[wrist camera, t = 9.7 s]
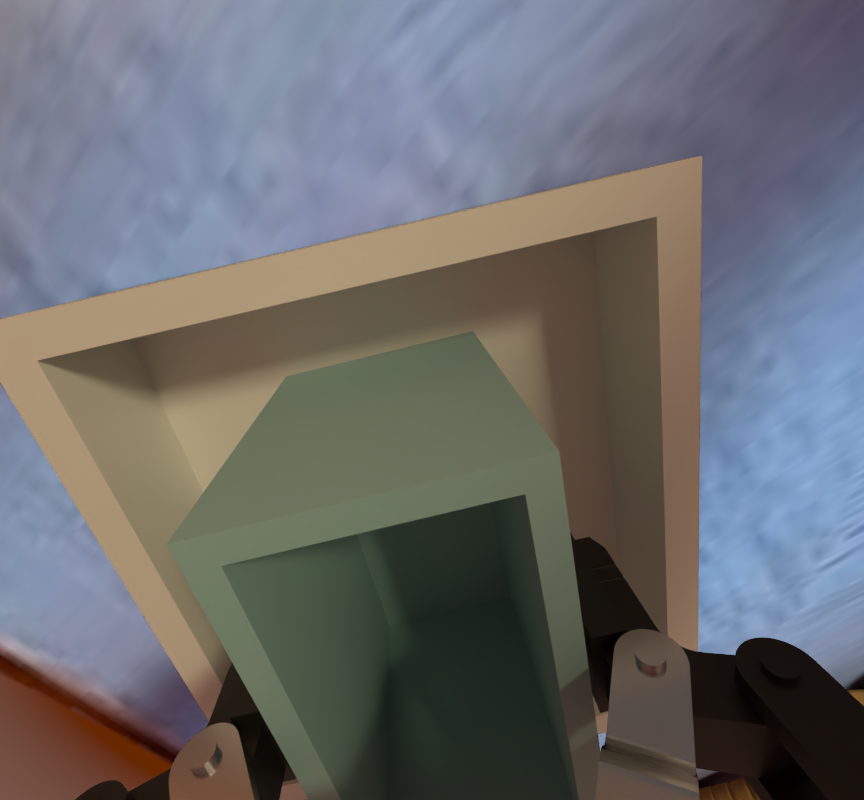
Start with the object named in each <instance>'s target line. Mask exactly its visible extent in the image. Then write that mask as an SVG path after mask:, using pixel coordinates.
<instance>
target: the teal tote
mask: <svg viewBox="0 0 864 800" xmlns="http://www.w3.org/2000/svg"><path fill="white" fill-rule="evenodd" d="M166 545H167V547H168V549H169V550H170V552H171V554H172V556H173V557H174V559H175V561H176V563H177V565H178V566H179V568H180V570H181V572H182V574H183V575H184V577H185V579H186V581H187V583H188V584H189V586H190V588H191V590H192V592H193V593H194V595H195V597H196V599H197V600H198V602H199V604H200V606H201V608H202V609H203V611H204V613H205V615H206V617H207V618H208V620H209V622H210V624H211V626H212V627H213V629H214V631H215V633H216V634H217V636H218V638H219V640H220V642H221V643H222V645H223V647H224V649H225V651H226V652H227V654H228V656H229V658H230V660H231V661H232V663H233V665H234V667H235V668H236V670H237V672H238V674H239V676H240V677H241V679H242V681H243V683H244V685H245V686H246V688H247V690H248V692H249V694H250V695H251V697H252V699H253V701H254V702H255V704H256V706H257V708H258V710H259V711H260V713H261V715H262V717H263V719H264V720H265V722H266V724H267V726H268V728H269V729H270V731H271V733H272V735H273V736H274V738H275V740H276V742H277V744H278V745H279V747H280V749H281V751H282V753H283V754H284V756H285V758H286V760H287V762H288V763H289V765H290V767H291V769H292V771H293V772H294V774H295V776H296V778H297V779H298V781H299V783H300V785H301V787H302V788H303V790H304V792H305V794H306V796H307V797H308V799H309V800H595V797H596V787H597V777H598V767H599V758H600V747H599V740H598V732H597V725H596V718H595V710H594V703H593V696H592V688H591V681H590V674H589V667H588V659H587V652H586V645H585V637H584V630H583V623H582V615H581V608H580V601H579V593H578V586H577V579H576V571H575V564H574V557H573V550H572V542H571V535H570V528H569V520H568V513H567V506H566V498H565V491H564V484H563V476H562V469H561V462H560V454H559V450H558V449H557V448H556V446H555V445H554V443H553V442H552V441H551V439H550V438H549V436H548V435H547V434H546V432H545V431H544V429H543V428H542V427H541V425H540V424H539V423H538V421H537V420H536V418H535V417H534V416H533V414H532V413H531V411H530V410H529V409H528V407H527V406H526V404H525V403H524V402H523V400H522V399H521V397H520V396H519V395H518V393H517V392H516V390H515V389H514V388H513V386H512V385H511V383H510V382H509V381H508V379H507V378H506V377H505V375H504V374H503V372H502V371H501V370H500V368H499V367H498V365H497V364H496V363H495V361H494V360H493V358H492V357H491V356H490V354H489V353H488V351H487V350H486V349H485V347H484V346H483V344H482V343H481V342H480V340H479V339H478V337H477V336H476V335H475V333H474V332H473V331H471V332H467V333H463V334H459V335H455V336H451V337H447V338H442V339H438V340H434V341H430V342H426V343H422V344H418V345H413V346H409V347H405V348H401V349H397V350H393V351H389V352H385V353H380V354H376V355H372V356H368V357H364V358H360V359H356V360H351V361H347V362H343V363H339V364H335V365H331V366H327V367H322V368H318V369H314V370H310V371H306V372H302V373H298V374H294V375H289V376H286V377H285V379H284V380H283V381H282V383H281V384H280V386H279V387H278V388H277V390H276V391H275V393H274V394H273V395H272V397H271V398H270V400H269V401H268V403H267V404H266V405H265V407H264V408H263V410H262V411H261V412H260V414H259V415H258V417H257V418H256V419H255V421H254V422H253V424H252V425H251V426H250V428H249V429H248V431H247V432H246V433H245V435H244V436H243V438H242V439H241V440H240V442H239V443H238V445H237V446H236V447H235V449H234V450H233V452H232V453H231V454H230V456H229V457H228V459H227V460H226V461H225V463H224V464H223V466H222V467H221V468H220V470H219V471H218V473H217V474H216V475H215V477H214V478H213V480H212V481H211V482H210V484H209V485H208V487H207V488H206V489H205V491H204V492H203V494H202V495H201V496H200V498H199V499H198V501H197V502H196V503H195V505H194V506H193V508H192V509H191V511H190V512H189V513H188V515H187V516H186V518H185V519H184V520H183V522H182V523H181V525H180V526H179V527H178V529H177V530H176V532H175V533H174V534H173V536H172V537H171V539H170V540H169V541H168V543H167V544H166Z"/></svg>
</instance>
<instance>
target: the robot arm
mask: <svg viewBox="0 0 864 800" xmlns="http://www.w3.org/2000/svg"><path fill="white" fill-rule="evenodd" d="M570 535H571V542H572V550H573V557H574V564H575V571H576V579H577V586H578V593H579V601H580V608H581V615H582V623H583V630H584V637H585V645H586V652H587V659H588V667H589V674H590V681H591V688H592V695H593V697H594V700H595V702H596V704H597V707H598V709H599V712H600V713H602V712H606V711H608V720H607V730H606V740H605V745H604V746H602V748H601V752H600V758H599V767H598V777H597V787H596V797H595V800H699V786H698V776H697V773H696V768H699V769H706V770H712V771H718V772H725V773H731V774H737V775H743V776H744V777H745V779H746V780H747V782H748V783H749V784H750V786H751V787H752V789H753V790H754V791H755V793H756V794H757V796H758V797H759V798H760V800H864V706H863V705H862V704H861V703H860V702H859V701H858V700H857V699H855V698H854V697H853V696H852V695H851V694H850V693H849V692H848V691H847V690H846V689H845V688H844V687H843V686H842V685H840V684H839V683H838V682H837V681H836V680H835V679H834V678H833V677H832V676H831V675H830V674H829V673H828V672H827V671H825V670H824V669H823V668H822V667H821V666H820V665H819V664H818V663H817V662H816V661H815V660H814V659H813V658H811V657H810V656H809V655H808V654H806V653H805V652H803V651H802V650H800V649H799V648H797V647H795V646H793V645H791V644H789V643H786V642H783V641H780V640H777V639H771V638H754V639H750V640H747V641H745V642H743V643H742V644H741V645H740V646H739V647H738V649H737V651H736V655H726V654H714V653H703V652H697V651H693V650H689V649H686V648H684V647H681V646H680V645H679V644H678V643H676V642H675V641H674V640H673V639H671V638H670V637H668V636H667V635H665V634H663V633H661V632H660V631H659V630H658V628H657V627H656V626H655V624H654V623H653V621H652V620H651V618H650V617H649V615H648V614H647V612H646V610H645V609H644V607H643V606H642V604H641V603H640V601H639V600H638V598H637V596H636V595H635V593H634V592H633V590H632V589H631V587H630V586H629V584H628V582H627V581H626V579H624V578H623V575H622V573H621V572H620V570H619V569H618V567H617V566H616V565H615V562H614V561H613V559H612V558H611V556H610V555H609V553H608V551H607V550H606V548H605V547H603V546H602V545H600V544H599V543H598V542H596V541H595V540H593V539H592V538H590V537H586V538H581V539H577V540H575V539H574V537H573V535H572V533H571V532H570ZM294 779H297V778H296V776H295V774H294V772H293V771H292V769H291V767H290V765H289V763H288V762H287V760H286V758H285V756H284V754H283V753H282V751H281V749H280V747H279V745H278V744H277V742H276V740H275V738H274V736H273V735H272V733H271V731H270V729H269V728H268V726H267V724H266V722H265V720H264V719H263V717H262V715H261V713H260V711H259V710H258V708H257V706H256V704H255V702H254V701H253V699H252V697H251V695H250V694H249V692H248V690H247V688H246V686H245V685H244V683H243V681H242V679H241V677H240V676H239V674H238V672H237V670H236V668H235V667H234V665H233V663H232V661H231V666H230V667H229V670H228V672H227V675H226V678H225V680H224V683H223V686H222V688H221V691H220V694H219V696H218V699H217V702H216V704H215V707H214V710H213V712H212V715H211V718H210V720H209V723H208V726H207V727H206V728H205V729H203V730H201V731H200V732H199V733H197V734H196V735H195V736H194V737H192V738H191V739H190V740H189V741H188V742H187V743H186V744H185V746H184V747H183V748H182V749H181V751H180V752H179V754H178V755H177V757H176V759H175V761H174V763H173V765H172V768H171V769H169V770H167V771H166V772H164V773H162V774H160V775H159V776H157V777H155V778H153V779H151V780H149V781H147V782H146V783H144V784H142V785H140V786H138V787H137V788H135V789H133V790H131V791H129V792H128V791H127V789H126V788H125V787H124V786H123V784H122V783H120V782H118V781H115V780H112V781H106V782H102V783H100V784H97V785H95V786H93V787H92V788H90V789H89V790H87V791H85V792H84V793H83V794H81V795H80V796H79V797H78V798H77V799H75V800H279V799H280V794H281V789H282V784H283V782H285V781H290V780H294Z"/></svg>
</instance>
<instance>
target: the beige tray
mask: <svg viewBox="0 0 864 800" xmlns="http://www.w3.org/2000/svg"><path fill="white" fill-rule="evenodd" d="M701 224H702V156H698V157H693V158H688V159H684V160H679V161H675V162H670V163H666V164H661V165H657V166H652V167H647V168H643V169H638V170H634V171H629V172H625V173H620V174H616V175H611V176H607V177H602V178H598V179H594V180H589V181H585V182H581V183H577V184H572V185H568V186H564V187H559V188H555V189H551V190H547V191H542V192H538V193H534V194H529V195H525V196H521V197H517V198H512V199H508V200H504V201H499V202H495V203H491V204H487V205H482V206H478V207H474V208H470V209H465V210H461V211H457V212H452V213H448V214H444V215H440V216H435V217H431V218H427V219H422V220H418V221H414V222H410V223H405V224H401V225H397V226H392V227H388V228H384V229H380V230H375V231H371V232H367V233H362V234H358V235H354V236H350V237H345V238H341V239H337V240H332V241H328V242H324V243H320V244H315V245H311V246H307V247H303V248H298V249H294V250H290V251H285V252H281V253H277V254H273V255H268V256H264V257H260V258H255V259H251V260H247V261H243V262H238V263H234V264H230V265H225V266H221V267H217V268H213V269H208V270H204V271H200V272H195V273H191V274H187V275H183V276H178V277H174V278H170V279H166V280H161V281H157V282H153V283H148V284H144V285H140V286H136V287H131V288H127V289H123V290H118V291H114V292H110V293H106V294H101V295H97V296H93V297H89V298H85V299H81V300H76V301H72V302H68V303H64V304H60V305H56V306H52V307H48V308H44V309H40V310H35V311H31V312H27V313H23V314H19V315H15V316H11V317H7V318H3V319H0V383H1V384H2V386H3V387H4V389H5V391H6V392H7V394H8V396H9V397H10V399H11V400H12V402H13V404H14V405H15V407H16V409H17V410H18V412H19V414H20V415H21V417H22V418H23V420H24V422H25V423H26V425H27V427H28V428H29V430H30V431H31V433H32V435H33V436H34V438H35V440H36V441H37V443H38V444H39V446H40V448H41V449H42V451H43V453H44V454H45V456H46V457H47V459H48V461H49V462H50V464H51V466H52V467H53V469H54V471H55V472H56V474H57V475H58V477H59V479H60V480H61V482H62V484H63V485H64V487H65V488H66V490H67V492H68V493H69V495H70V497H71V498H72V500H73V501H74V503H75V505H76V506H77V508H78V510H79V511H80V513H81V514H82V516H83V518H84V519H85V521H86V523H87V524H88V526H89V528H90V529H91V531H92V532H93V534H94V536H95V537H96V539H97V541H98V542H99V544H100V545H101V547H102V549H103V550H104V552H105V554H106V555H107V557H108V558H109V560H110V562H111V563H112V565H113V567H114V568H115V570H116V571H117V573H118V575H119V576H120V578H121V580H122V581H123V583H124V585H125V586H126V588H127V589H128V591H129V593H130V594H131V596H132V598H133V599H134V601H135V602H136V604H137V606H138V607H139V609H140V611H141V612H142V614H143V615H144V617H145V619H146V620H147V622H148V624H149V625H150V627H151V629H152V630H153V632H154V633H155V635H156V637H157V638H158V640H159V642H160V643H161V645H162V646H163V648H164V650H165V651H166V653H167V655H168V656H169V658H170V659H171V661H172V663H173V664H174V666H175V668H176V669H177V671H178V672H179V674H180V676H181V677H182V679H183V681H184V682H185V684H186V686H187V687H188V689H189V690H190V692H191V694H192V695H193V697H194V699H195V700H196V702H197V703H198V705H199V707H200V708H201V710H202V712H203V713H204V715H205V716H206V718H207V720H208V721H209V720H210V718H211V715H212V712H213V710H214V707H215V704H216V702H217V699H218V696H219V694H220V691H221V688H222V686H223V683H224V680H225V678H226V675H227V672H228V670H229V667H230V666H231V660H230V658H229V656H228V654H227V652H226V651H225V649H224V647H223V645H222V643H221V642H220V640H219V638H218V636H217V634H216V633H215V631H214V629H213V627H212V626H211V624H210V622H209V620H208V618H207V617H206V615H205V613H204V611H203V609H202V608H201V606H200V604H199V602H198V600H197V599H196V597H195V595H194V593H193V592H192V590H191V588H190V586H189V584H188V583H187V581H186V579H185V577H184V575H183V574H182V572H181V570H180V568H179V566H178V565H177V563H176V561H175V559H174V557H173V556H172V554H171V552H170V550H169V549H168V547H167V545H166V544H167V543H168V541H169V540H170V539H171V537H172V536H173V534H174V533H175V532H176V530H177V529H178V527H179V526H180V525H181V523H182V522H183V520H184V519H185V518H186V516H187V515H188V513H189V512H190V511H191V509H192V508H193V506H194V505H195V503H196V502H197V501H198V499H199V498H200V496H201V495H202V494H203V492H204V491H205V489H206V488H207V487H208V485H209V484H210V482H211V481H212V480H213V478H214V477H215V475H216V474H217V473H218V471H219V470H220V468H221V467H222V466H223V464H224V463H225V461H226V460H227V459H228V457H229V456H230V454H231V453H232V452H233V450H234V449H235V447H236V446H237V445H238V443H239V442H240V440H241V439H242V438H243V436H244V435H245V433H246V432H247V431H248V429H249V428H250V426H251V425H252V424H253V422H254V421H255V419H256V418H257V417H258V415H259V414H260V412H261V411H262V410H263V408H264V407H265V405H266V404H267V403H268V401H269V400H270V398H271V397H272V395H273V394H274V393H275V391H276V390H277V388H278V387H279V386H280V384H281V383H282V381H283V380H284V379H285V377H286V376H289V375H294V374H298V373H302V372H306V371H310V370H314V369H318V368H322V367H327V366H331V365H335V364H339V363H343V362H347V361H351V360H356V359H360V358H364V357H368V356H372V355H376V354H380V353H385V352H389V351H393V350H397V349H401V348H405V347H409V346H413V345H418V344H422V343H426V342H430V341H434V340H438V339H442V338H447V337H451V336H455V335H459V334H463V333H467V332H471V331H473V332H474V333H475V335H476V336H477V337H478V339H479V340H480V342H481V343H482V344H483V346H484V347H485V349H486V350H487V351H488V353H489V354H490V356H491V357H492V358H493V360H494V361H495V363H496V364H497V365H498V367H499V368H500V370H501V371H502V372H503V374H504V375H505V377H506V378H507V379H508V381H509V382H510V383H511V385H512V386H513V388H514V389H515V390H516V392H517V393H518V395H519V396H520V397H521V399H522V400H523V402H524V403H525V404H526V406H527V407H528V409H529V410H530V411H531V413H532V414H533V416H534V417H535V418H536V420H537V421H538V423H539V424H540V425H541V427H542V428H543V429H544V431H545V432H546V434H547V435H548V436H549V438H550V439H551V441H552V442H553V443H554V445H555V446H556V448H557V449H558V450H559V454H560V462H561V469H562V476H563V484H564V491H565V498H566V506H567V513H568V520H569V528H570V532H571V533H572V535H573V537H574V539H575V540H577V539H581V538H586V537H590V538H592V539H593V540H595V541H596V542H598V543H599V544H600V545H602V546H603V547H605V548H606V550H607V551H608V553H609V555H610V556H611V558H612V559H613V561H614V562H615V565H616V566H617V567H618V569H619V570H620V572H621V573H622V575H623V578H624V579H626V581H627V582H628V584H629V586H630V587H631V589H632V590H633V592H634V593H635V595H636V596H637V598H638V600H639V601H640V603H641V604H642V606H643V607H644V609H645V610H646V612H647V614H648V615H649V617H650V618H651V620H652V621H653V623H654V624H655V626H656V627H657V628H658V630H659V631H660V632H661V633H663V634H665V635H667V636H668V637H670V638H671V639H673V640H674V641H675V642H676V643H678V644H679V645H680V646H681V647H684V648H686V649H689V650H693V651H697V652H698V573H699V457H700V341H701ZM592 696H593V695H592ZM593 703H594V710H595V718H596V725H597V732H598V734H600V733H605V732H606V730H607V720H608V711H606V712H602V713H600V712H599V709H598V707H597V704H596V702H595V700H594V697H593ZM305 799H308V797H307V796H306V794H305V792H304V790H303V788H302V787H301V785H300V783H299V781H298V779H294V780H290V781H285V782H283V784H282V789H281V794H280V799H279V800H305Z"/></svg>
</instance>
